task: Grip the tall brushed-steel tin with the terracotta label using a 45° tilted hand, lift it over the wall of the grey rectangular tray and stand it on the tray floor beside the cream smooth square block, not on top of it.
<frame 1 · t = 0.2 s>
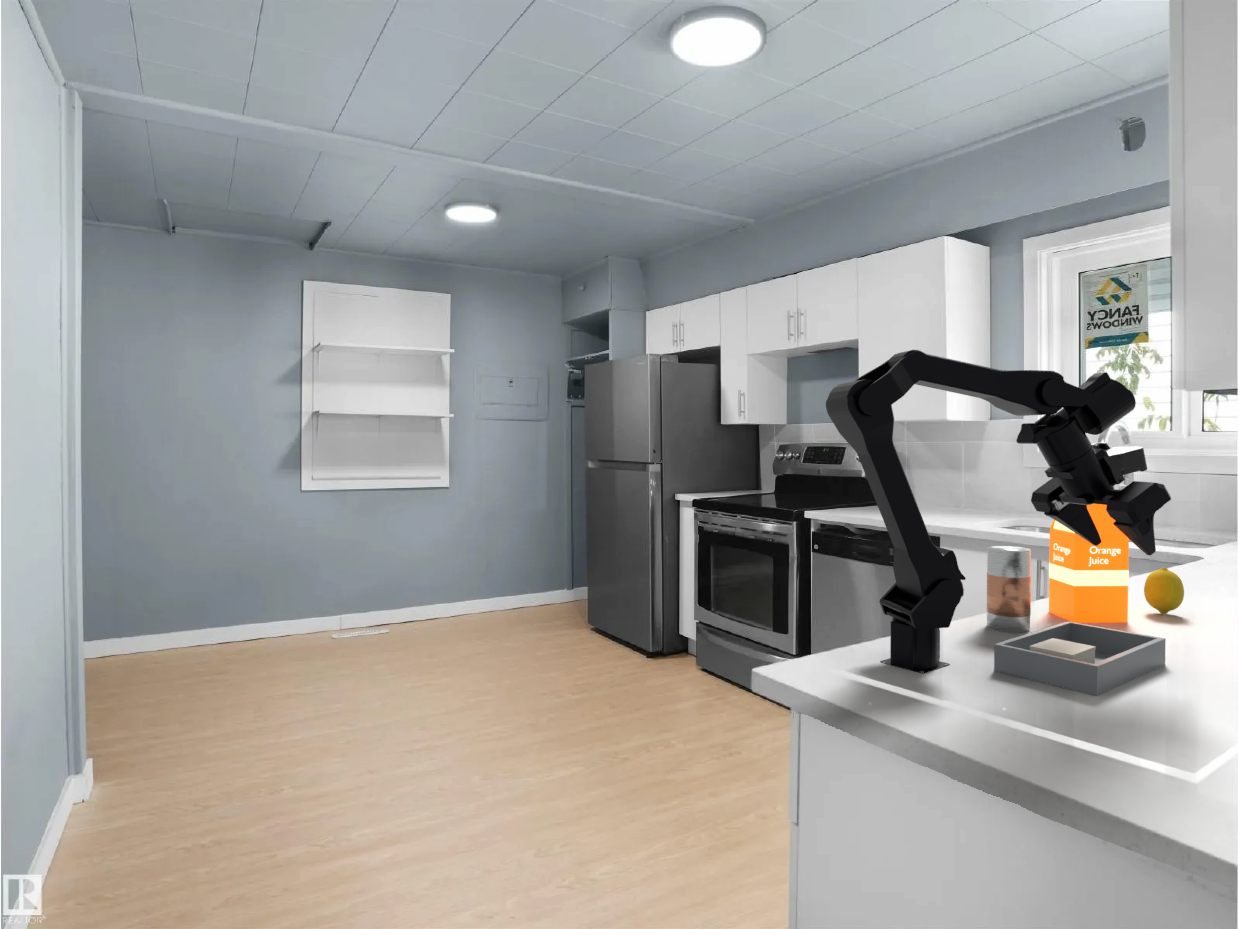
hand: (1123, 548, 105), 15 cm above the counter, tool tilted 35°, fingers open, 9 cm apart
cream smooth square block: (1062, 674, 96), point 1 cm above the counter, touching grey rectangular tray
lemon: (1163, 615, 130), on the counter
orange juice: (1086, 618, 128), on the counter
steel tin: (1008, 631, 119), on the counter
grey rectangular tray: (1080, 672, 99), on the counter
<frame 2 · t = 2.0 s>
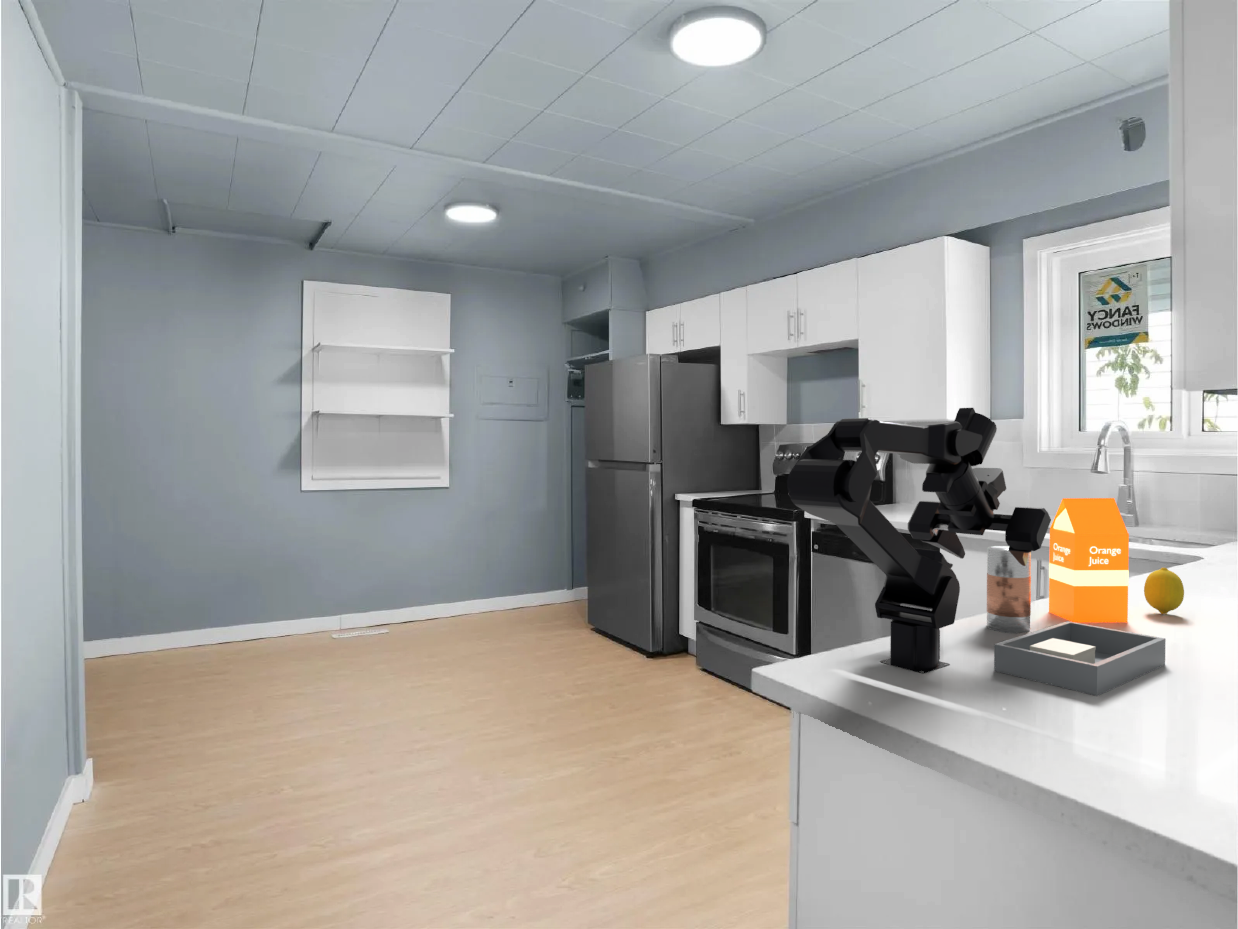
hand: (993, 559, 115), 12 cm above the counter, tool tilted 45°, fingers open, 9 cm apart
nothing on the counter moved.
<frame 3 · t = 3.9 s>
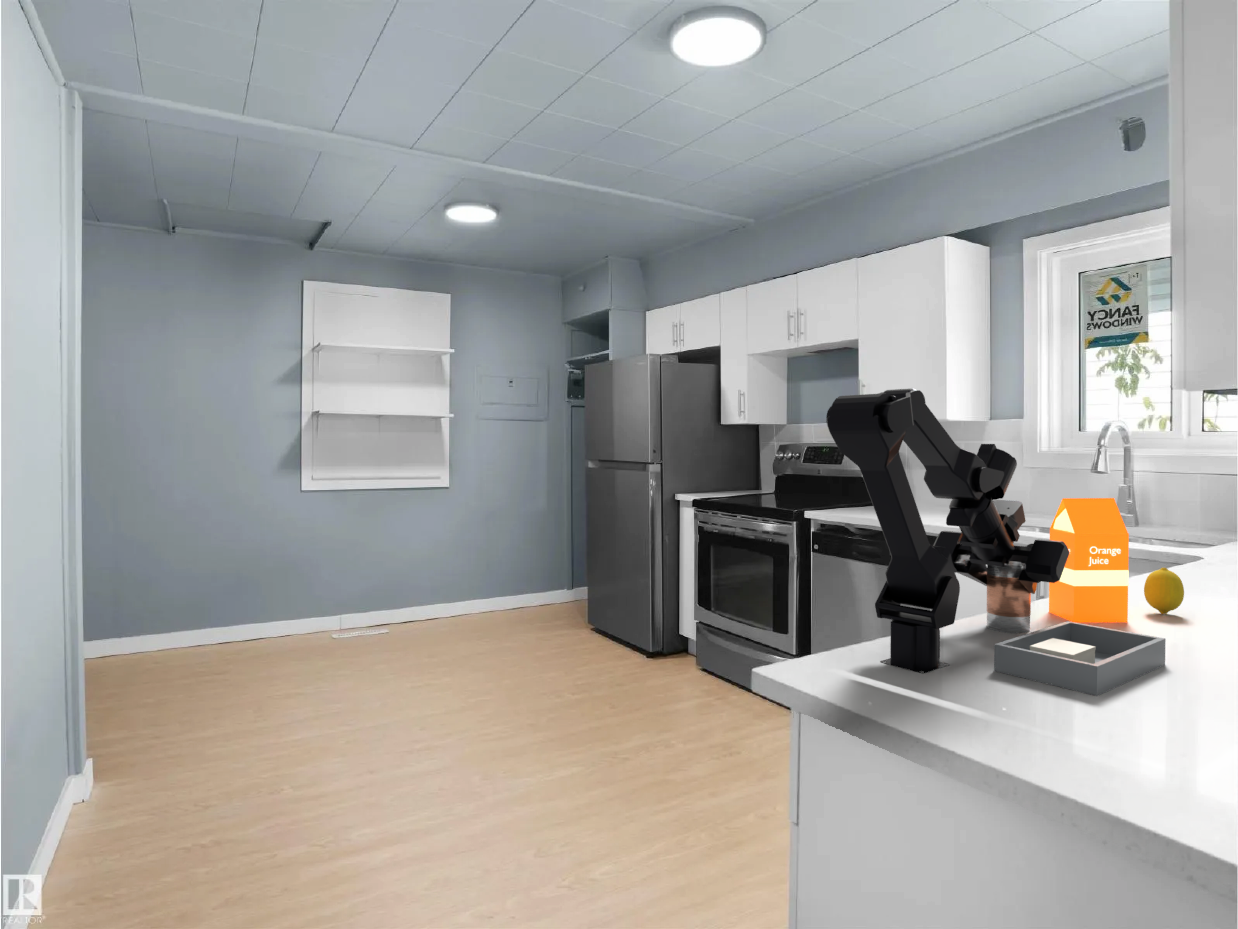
hand: (1012, 588, 120), 7 cm above the counter, tool tilted 45°, fingers closed on steel tin, 6 cm apart
steel tin: (1008, 631, 119), on the counter, touching gripper
everything else where it was.
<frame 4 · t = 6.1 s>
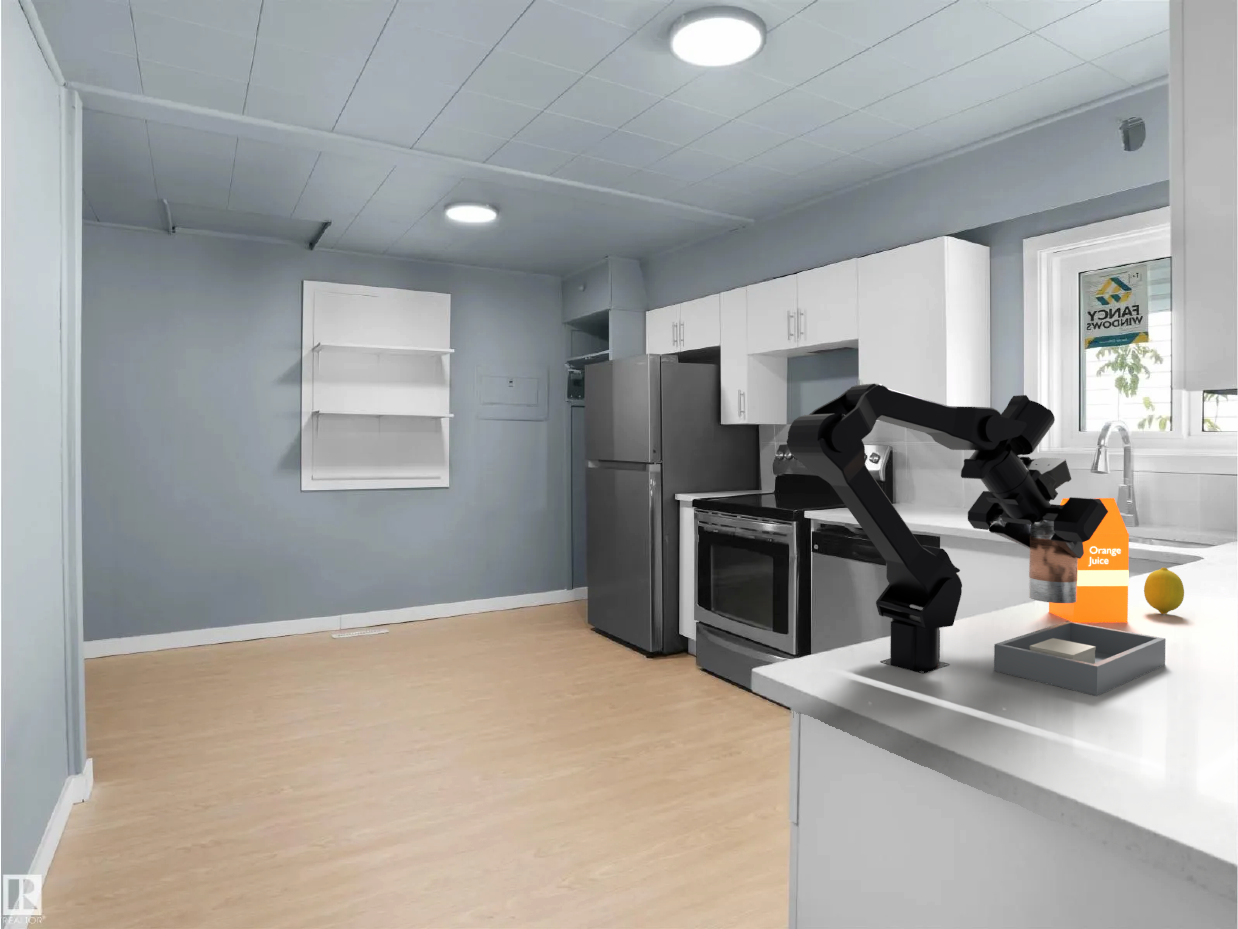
hand: (1060, 553, 111), 13 cm above the counter, tool tilted 45°, fingers closed on steel tin, 6 cm apart
steel tin: (1052, 599, 111), point 7 cm above the counter, touching gripper
everything else where it was.
when the fingers open (8 cm above the counter, at t = 8.5 s): steel tin drops 1 cm, resting on grey rectangular tray.
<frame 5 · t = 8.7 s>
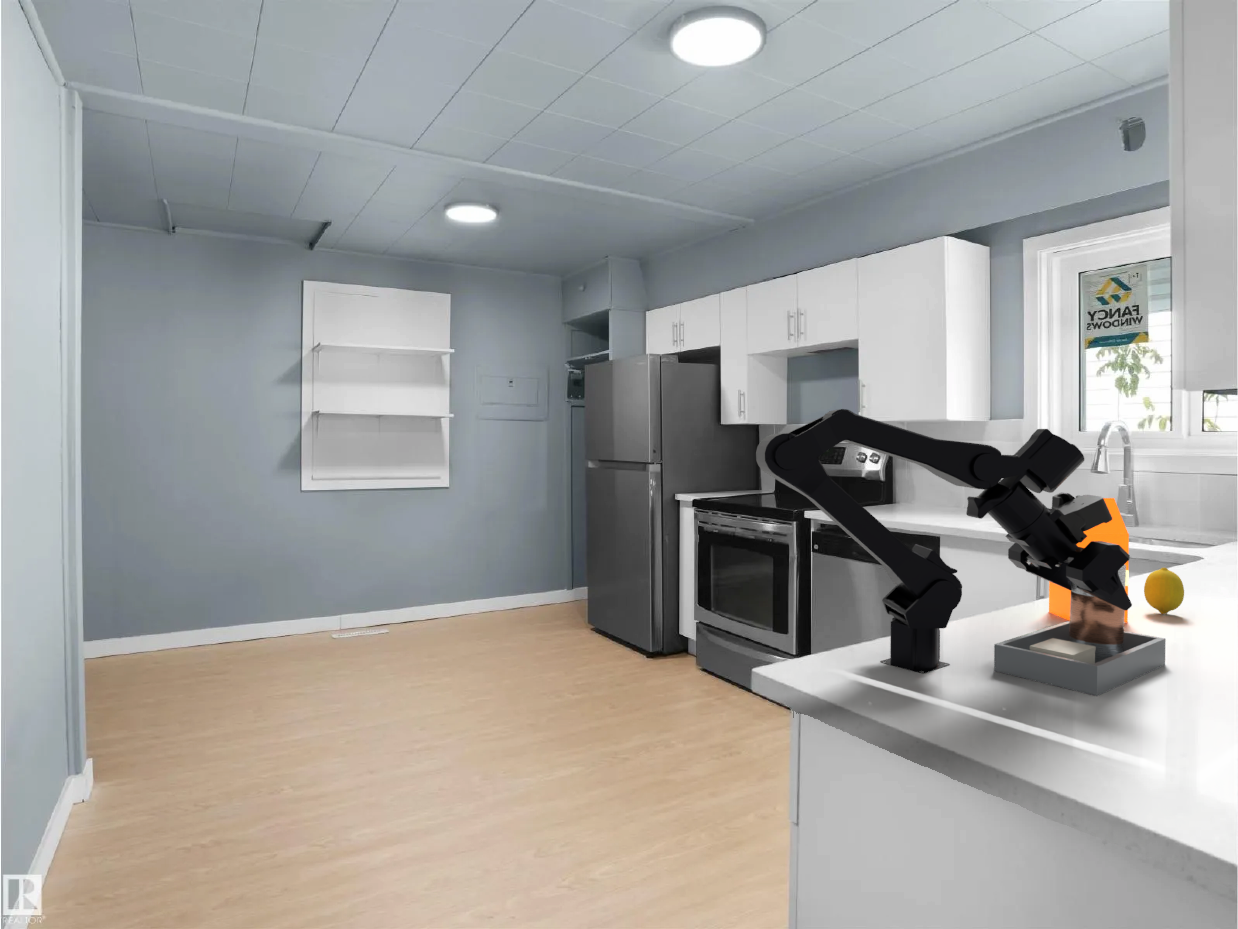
hand: (1107, 600, 101), 9 cm above the counter, tool tilted 45°, fingers open, 8 cm apart
steel tin: (1095, 660, 101), point 1 cm above the counter, touching grey rectangular tray
everything else where it was.
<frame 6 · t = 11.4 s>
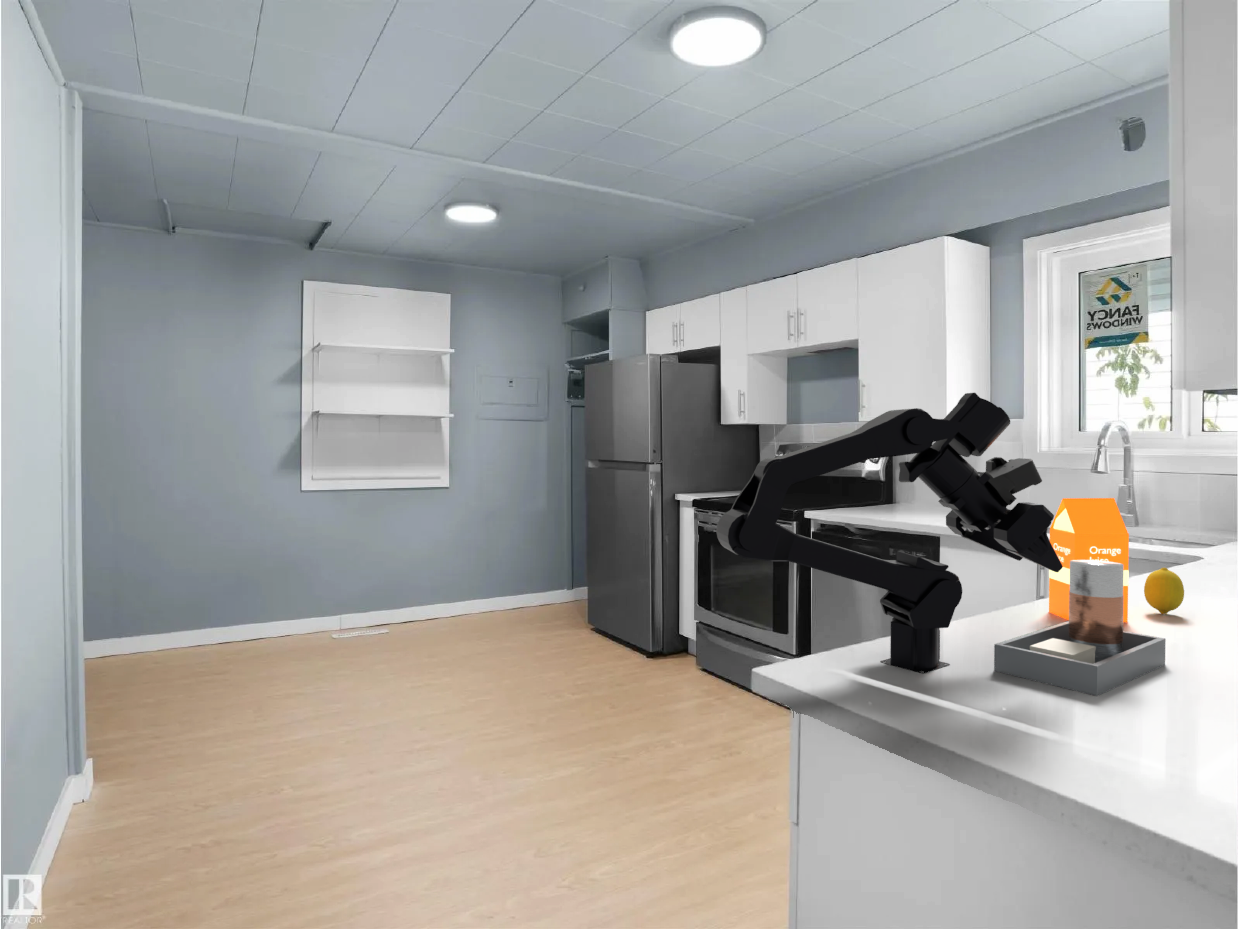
hand: (1039, 563, 101), 14 cm above the counter, tool tilted 45°, fingers open, 9 cm apart
nothing on the counter moved.
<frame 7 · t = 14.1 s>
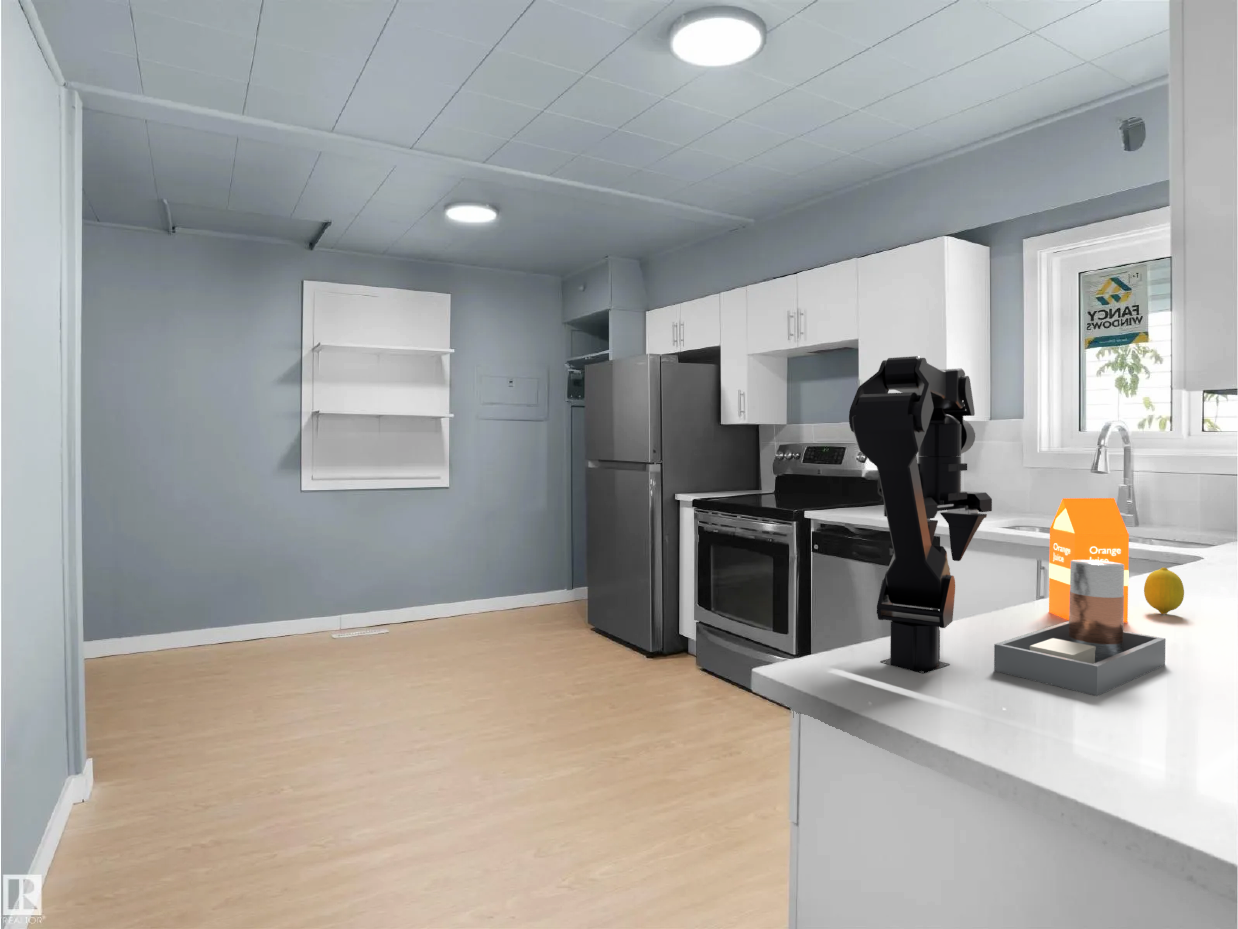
hand: (938, 564, 111), 12 cm above the counter, tool pointing down, fingers open, 9 cm apart
nothing on the counter moved.
at the end: steel tin 0.1 cm from the target spot on the grey rectangular tray, point 0.6 cm above the grey rectangular tray's base; steel tin tilted 1°; cream smooth square block moved 0.0 cm from its start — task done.
